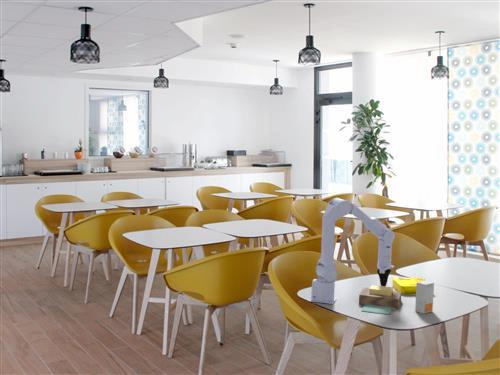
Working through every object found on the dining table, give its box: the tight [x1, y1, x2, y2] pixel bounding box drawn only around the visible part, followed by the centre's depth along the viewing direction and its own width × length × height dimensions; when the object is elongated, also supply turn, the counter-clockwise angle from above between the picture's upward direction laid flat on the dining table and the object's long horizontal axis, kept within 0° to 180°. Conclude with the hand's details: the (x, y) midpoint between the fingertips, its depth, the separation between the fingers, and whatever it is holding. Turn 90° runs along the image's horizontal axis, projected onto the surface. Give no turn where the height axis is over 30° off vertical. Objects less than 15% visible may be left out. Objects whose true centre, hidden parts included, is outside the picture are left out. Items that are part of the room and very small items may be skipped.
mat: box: [360, 304, 393, 315], centre depth 224 cm, size 11×9×1 cm
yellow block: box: [368, 284, 394, 296], centre depth 234 cm, size 9×6×2 cm, turn 69°
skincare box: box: [414, 280, 435, 314], centre depth 222 cm, size 6×4×12 cm
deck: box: [358, 287, 402, 310], centre depth 234 cm, size 16×12×4 cm
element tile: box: [392, 276, 427, 296], centre depth 254 cm, size 15×15×5 cm
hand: (383, 285), depth 242 cm, fingers closed
